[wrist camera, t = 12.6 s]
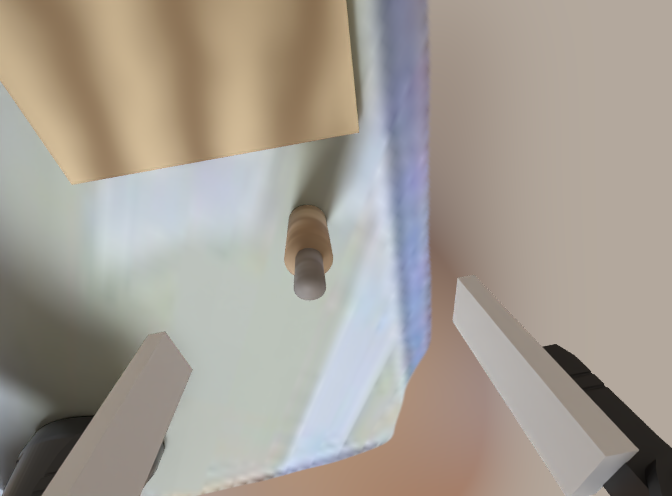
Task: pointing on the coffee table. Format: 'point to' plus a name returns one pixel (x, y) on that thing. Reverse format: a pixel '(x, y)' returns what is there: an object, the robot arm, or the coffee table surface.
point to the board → (175, 78)
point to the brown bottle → (308, 251)
